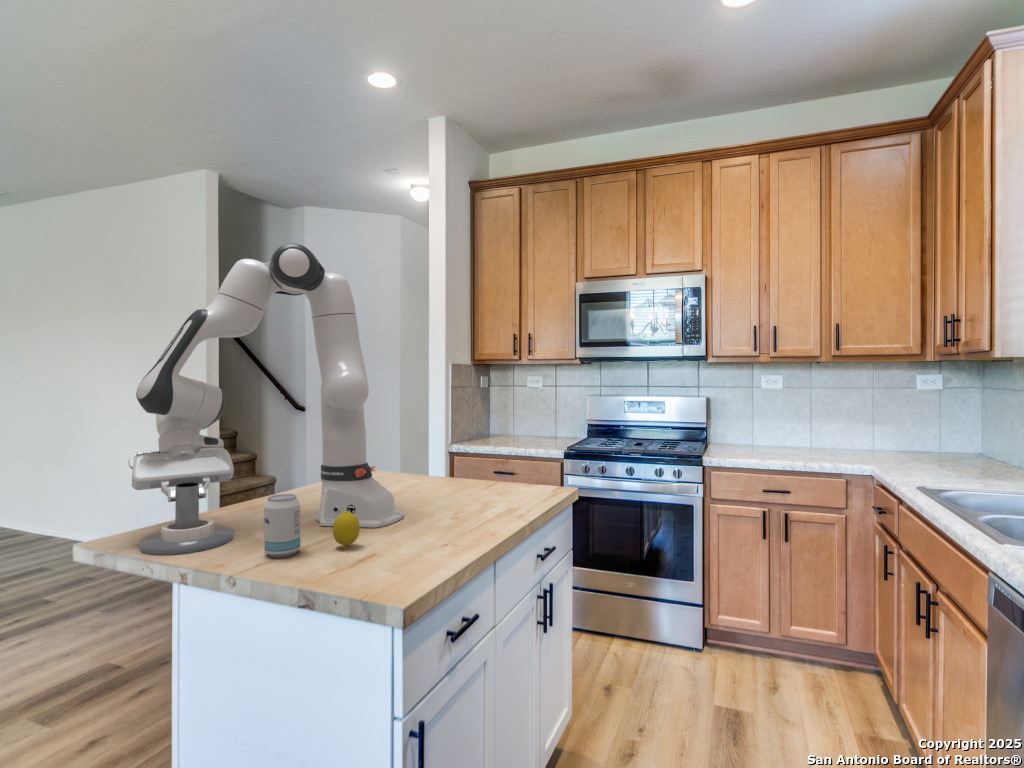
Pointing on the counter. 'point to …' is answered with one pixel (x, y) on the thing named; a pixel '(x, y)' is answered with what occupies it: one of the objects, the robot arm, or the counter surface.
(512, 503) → the counter surface
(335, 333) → the robot arm
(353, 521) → the lemon
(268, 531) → the beverage can
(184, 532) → the collar
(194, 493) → the grey hollow cylinder
